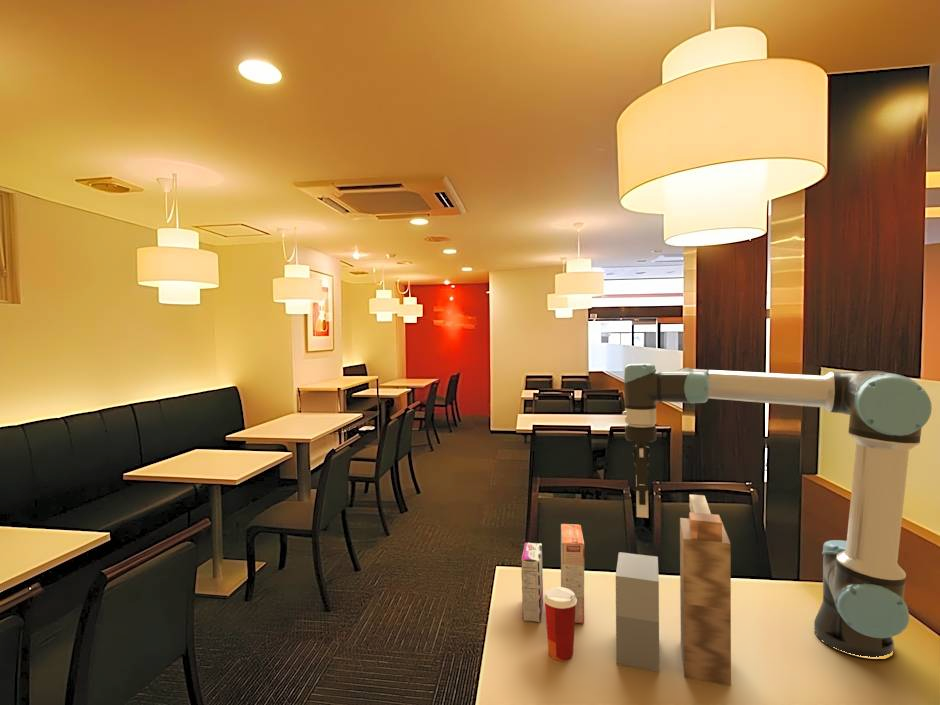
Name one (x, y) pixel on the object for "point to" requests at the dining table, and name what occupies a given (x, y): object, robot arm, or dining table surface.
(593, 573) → the dining table surface
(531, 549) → the candy bar box
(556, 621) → the paper cup
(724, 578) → the tall tower
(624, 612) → the short tower
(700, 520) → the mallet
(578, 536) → the cracker box
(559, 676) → the dining table surface
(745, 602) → the dining table surface
